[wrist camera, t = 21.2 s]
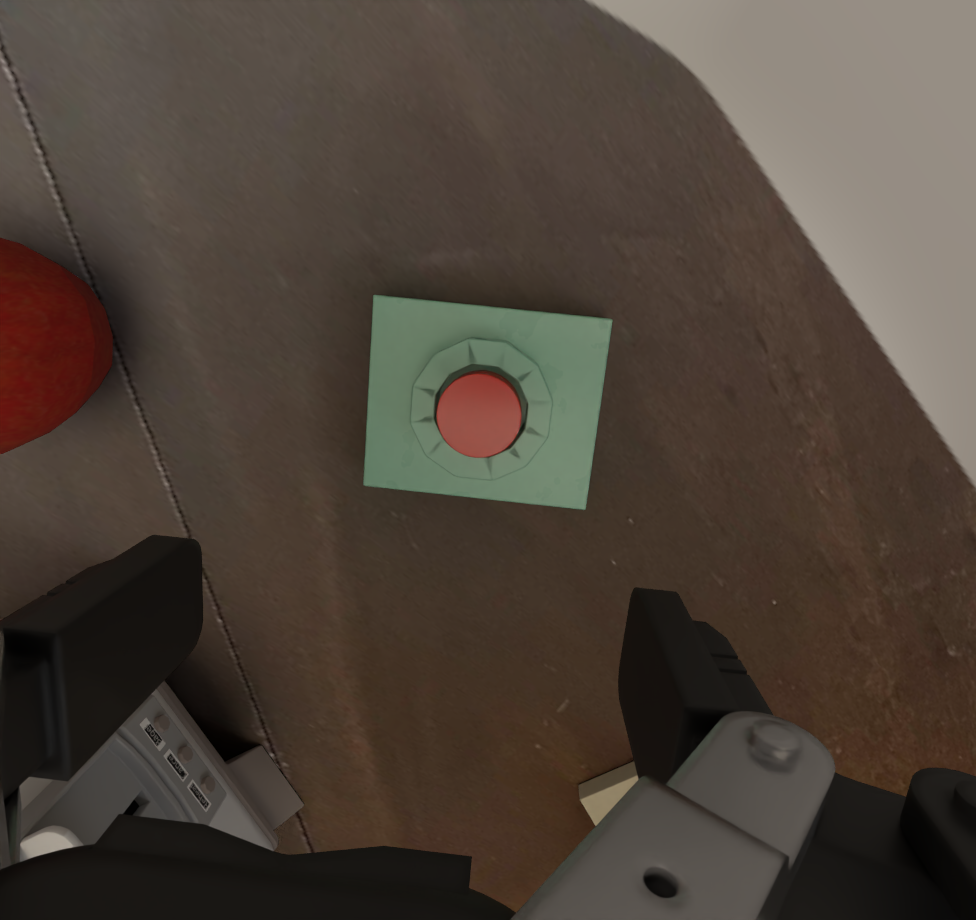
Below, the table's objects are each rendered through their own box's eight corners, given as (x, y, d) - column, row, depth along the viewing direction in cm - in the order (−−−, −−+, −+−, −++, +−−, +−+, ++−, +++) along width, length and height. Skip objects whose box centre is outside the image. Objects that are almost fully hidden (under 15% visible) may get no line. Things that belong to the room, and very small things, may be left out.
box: (607, 318, 33) (618, 319, 30) (581, 498, 36) (589, 521, 32) (382, 295, 34) (364, 293, 30) (372, 475, 36) (354, 495, 32)
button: (525, 374, 31) (526, 378, 29) (516, 453, 32) (516, 462, 30) (444, 365, 31) (439, 369, 29) (437, 445, 32) (433, 453, 30)
